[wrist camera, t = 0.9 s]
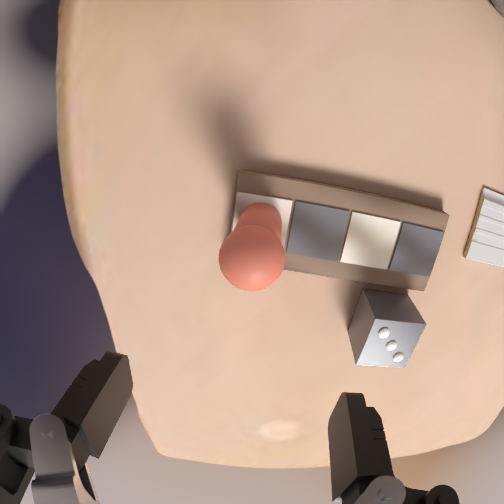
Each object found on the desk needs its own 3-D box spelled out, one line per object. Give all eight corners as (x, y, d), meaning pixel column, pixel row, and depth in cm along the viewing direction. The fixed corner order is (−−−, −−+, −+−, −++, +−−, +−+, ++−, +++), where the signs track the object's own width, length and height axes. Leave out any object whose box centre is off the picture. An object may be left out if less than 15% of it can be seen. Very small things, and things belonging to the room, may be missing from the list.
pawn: (239, 195, 28) (215, 232, 19) (288, 203, 28) (291, 244, 18) (234, 241, 30) (210, 297, 20) (280, 249, 30) (278, 308, 20)
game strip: (240, 169, 29) (237, 171, 28) (443, 211, 28) (450, 215, 27) (229, 254, 33) (227, 261, 31) (419, 284, 32) (424, 292, 30)
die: (362, 288, 33) (375, 319, 27) (408, 295, 32) (426, 325, 27) (347, 331, 35) (356, 365, 29) (391, 335, 35) (404, 368, 29)
